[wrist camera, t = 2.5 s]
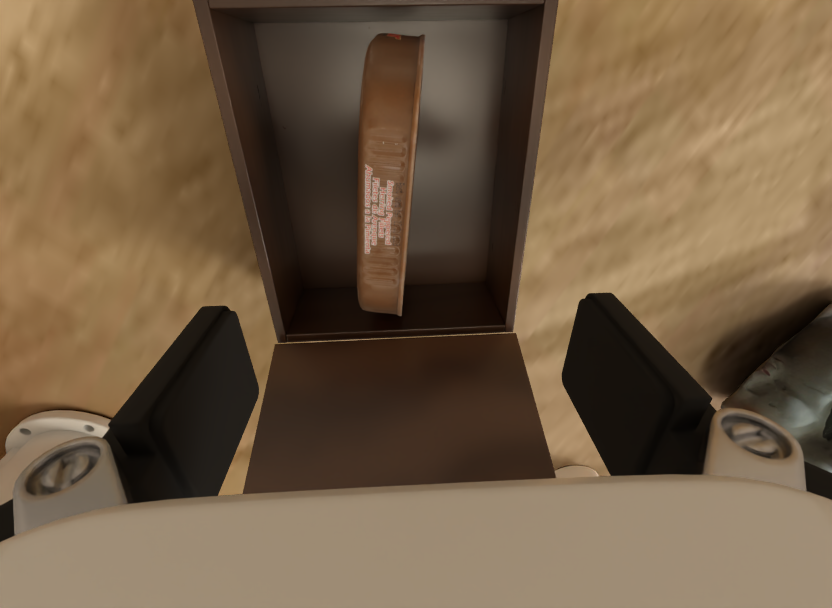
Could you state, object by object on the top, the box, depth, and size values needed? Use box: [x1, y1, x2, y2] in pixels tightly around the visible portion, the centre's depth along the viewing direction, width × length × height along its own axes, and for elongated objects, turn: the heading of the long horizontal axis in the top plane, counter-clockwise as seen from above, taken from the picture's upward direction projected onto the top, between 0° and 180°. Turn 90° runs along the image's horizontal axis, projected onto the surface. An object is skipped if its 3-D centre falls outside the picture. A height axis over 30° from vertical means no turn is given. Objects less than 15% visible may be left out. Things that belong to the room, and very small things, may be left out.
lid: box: [243, 333, 556, 494], centre depth 19 cm, size 18×15×1 cm
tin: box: [357, 33, 425, 316], centre depth 22 cm, size 15×3×8 cm, turn 175°
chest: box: [193, 0, 558, 343], centre depth 23 cm, size 18×15×7 cm
